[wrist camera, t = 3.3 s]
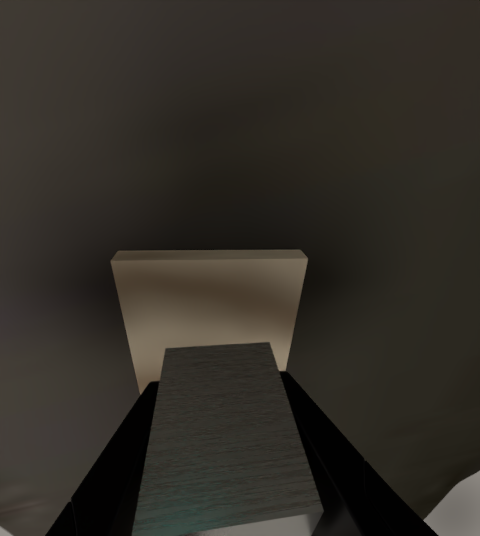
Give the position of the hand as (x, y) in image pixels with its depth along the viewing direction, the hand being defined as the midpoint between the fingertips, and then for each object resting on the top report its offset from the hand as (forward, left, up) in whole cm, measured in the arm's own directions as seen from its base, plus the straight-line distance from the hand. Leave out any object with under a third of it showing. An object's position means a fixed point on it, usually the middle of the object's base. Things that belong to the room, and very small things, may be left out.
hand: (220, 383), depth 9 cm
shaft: (-6, 0, -1) cm, 6 cm away
